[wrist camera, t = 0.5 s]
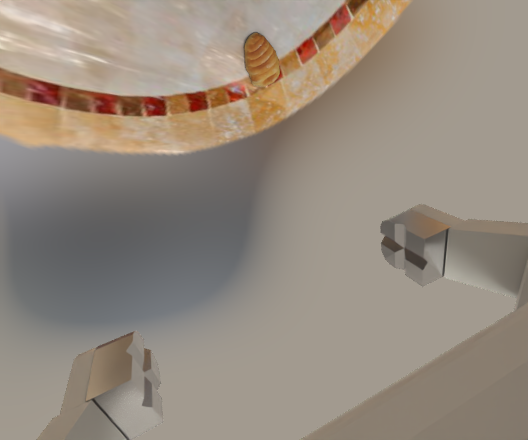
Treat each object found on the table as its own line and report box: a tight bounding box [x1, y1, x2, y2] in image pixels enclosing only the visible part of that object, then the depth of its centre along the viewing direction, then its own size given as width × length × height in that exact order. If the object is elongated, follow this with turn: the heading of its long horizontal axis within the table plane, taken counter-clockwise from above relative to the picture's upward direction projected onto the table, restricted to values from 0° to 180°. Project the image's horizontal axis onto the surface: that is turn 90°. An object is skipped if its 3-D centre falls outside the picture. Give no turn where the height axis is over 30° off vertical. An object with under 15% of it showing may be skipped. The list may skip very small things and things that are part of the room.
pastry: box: [244, 33, 280, 86], centre depth 57 cm, size 9×7×4 cm
